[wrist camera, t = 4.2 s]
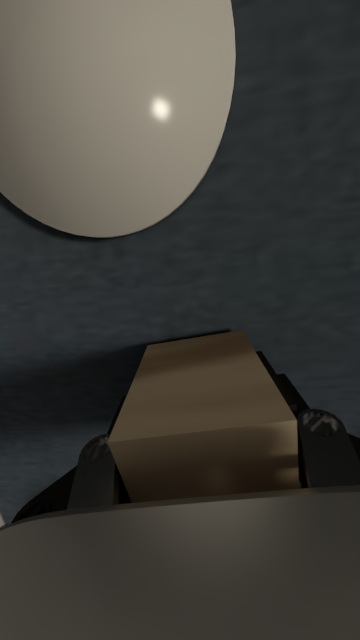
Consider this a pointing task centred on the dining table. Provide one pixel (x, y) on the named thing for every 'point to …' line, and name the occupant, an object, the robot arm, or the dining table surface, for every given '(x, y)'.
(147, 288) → the dining table surface
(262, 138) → the dining table surface
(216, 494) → the block
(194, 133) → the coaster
